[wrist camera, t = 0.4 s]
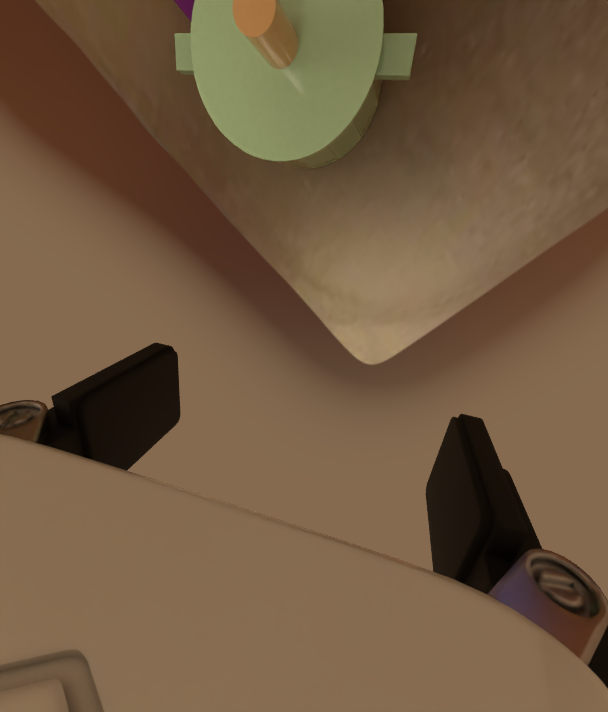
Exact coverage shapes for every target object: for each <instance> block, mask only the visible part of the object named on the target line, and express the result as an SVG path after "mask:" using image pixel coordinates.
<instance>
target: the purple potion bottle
mask: <svg viewBox="0 0 608 712" xmlns="http://www.w3.org/2000/svg"><path fill="white" fill-rule="evenodd" d="M174 1H175V2H176V3H177V5H178V6H179V7H180V8H181V10H182V11H183V12H184V13H185V15H186V16H187V17H188V18H189V20H190V21H192V11H193V6H194V1H195V0H174Z"/></svg>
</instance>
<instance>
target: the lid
mask: <svg viewBox="0 0 608 712" xmlns="http://www.w3.org/2000/svg"><path fill="white" fill-rule="evenodd" d="M383 36H384V8H383V0H195V1H194V6H193V11H192V21H191V57H192V65H193V70H194V76H195V80H196V83H197V87H198V90H199V93H200V96H201V98H202V101H203V103H204V105H205V107H206V109H207V111H208V113H209V115H210V117H211V118H212V120H213V122H214V123H215V125H216V126H217V127H218V129H219V130H220V131H221V132H222V133H223V135H224V136H225V137H226V138H227V139H228V140H230V141H231V142H232V143H233V144H234V145H235V146H237V147H238V148H240V149H241V150H243V151H244V152H246V153H248V154H250V155H252V156H254V157H257V158H260V159H263V160H267V161H273V162H291V161H297V160H301V159H304V158H307V157H310V156H312V155H314V154H316V153H318V152H320V151H322V150H323V149H325V148H326V147H328V146H329V145H331V144H332V143H333V142H334V141H336V140H337V139H338V138H339V137H340V136H341V135H342V134H343V133H344V132H345V131H346V130H347V128H348V127H349V126H350V125H351V124H352V122H353V121H354V120H355V118H356V117H357V115H358V114H359V112H360V111H361V109H362V107H363V105H364V103H365V102H366V100H367V98H368V95H369V93H370V91H371V88H372V86H373V84H374V80H375V77H376V74H377V71H378V68H379V63H380V58H381V53H382V46H383Z"/></svg>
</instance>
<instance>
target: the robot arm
mask: <svg viewBox="0 0 608 712" xmlns="http://www.w3.org/2000/svg"><path fill="white" fill-rule="evenodd" d="M52 401H53V405H54V407H53V408H51V409H49V410H48V409H47V406H46V405H45V404H44V403H42V402H39V401H33V400H23V401H16V402H10V403H7V404H3V405H0V712H608V600H607V598H606V597H605V595H604V594H603V592H602V590H601V589H600V587H599V586H598V585H597V584H596V583H595V582H594V581H593V579H592V578H591V577H590V576H589V575H588V574H587V573H586V572H584V571H583V570H582V569H581V568H580V567H578V566H577V565H576V564H574V563H573V562H571V561H570V560H568V559H567V558H565V557H563V556H561V555H559V554H556V553H554V552H552V551H548V550H544V549H542V547H541V545H540V543H539V540H538V538H537V536H536V534H535V531H534V529H533V526H532V524H531V522H530V519H529V517H528V515H527V512H526V510H525V508H524V506H523V503H522V501H521V499H520V496H519V494H518V492H517V489H516V487H515V485H514V482H513V480H512V478H511V476H510V474H509V472H508V471H507V470H505V469H503V468H502V466H501V463H500V461H499V458H498V456H497V453H496V451H495V449H494V446H493V444H492V441H491V439H490V436H489V434H488V432H487V430H486V427H485V425H484V422H483V420H482V419H481V418H477V417H473V416H468V415H464V414H460V415H459V417H458V418H456V417H452V419H451V420H450V423H449V426H448V428H447V432H446V434H445V436H444V439H443V442H442V445H441V447H440V450H439V453H438V456H437V458H436V461H435V464H434V466H433V469H432V472H431V474H430V477H429V480H428V483H427V487H426V500H427V511H428V521H429V531H430V542H431V551H432V562H433V572H432V571H430V570H427V569H424V568H421V567H419V566H416V565H413V564H411V563H408V562H405V561H402V560H400V559H397V558H394V557H390V556H388V555H385V554H382V553H379V552H375V551H373V550H370V549H367V548H364V547H361V546H358V545H355V544H352V543H349V542H346V541H343V540H340V539H337V538H334V537H331V536H328V535H325V534H321V533H318V532H315V531H312V530H309V529H306V528H303V527H300V526H297V525H294V524H291V523H288V522H285V521H282V520H279V519H276V518H273V517H270V516H267V515H264V514H260V513H257V512H254V511H251V510H248V509H245V508H242V507H238V506H236V505H233V504H230V503H226V502H223V501H220V500H217V499H214V498H211V497H208V496H205V495H201V494H198V493H195V492H192V491H189V490H186V489H183V488H180V487H177V486H173V485H170V484H167V483H164V482H161V481H158V480H155V479H151V478H148V477H145V476H142V475H139V474H135V473H132V472H129V471H127V470H128V469H129V468H130V467H131V466H132V465H133V464H134V463H136V462H137V461H138V460H139V459H140V458H141V457H142V456H143V455H144V454H145V453H146V452H147V451H148V450H149V449H151V448H152V446H153V445H154V444H156V443H157V442H158V441H159V440H160V439H161V438H162V437H163V436H164V435H165V434H167V433H168V432H169V431H170V430H171V429H172V428H173V427H174V426H175V425H176V424H177V423H178V421H179V419H180V397H179V375H178V356H177V353H176V352H175V351H174V349H173V347H171V346H168V345H164V344H159V343H153V344H151V345H150V346H148V347H146V348H144V349H142V350H140V351H138V352H136V353H134V354H132V355H130V356H128V357H127V358H125V359H123V360H121V361H119V362H117V363H115V364H113V365H111V366H109V367H107V368H105V369H103V370H101V371H100V372H98V373H96V374H94V375H92V376H90V377H88V378H86V379H85V380H83V381H80V382H78V383H77V384H74V385H73V386H71V387H69V388H67V389H65V390H63V391H61V392H59V393H57V394H55V395H53V396H52Z"/></svg>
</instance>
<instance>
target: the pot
mask: <svg viewBox="0 0 608 712" xmlns="http://www.w3.org/2000/svg"><path fill="white" fill-rule="evenodd" d="M416 42H417V33H384V36H383V46H382V53H381V58H380V63H379V68H378V71H377V74H376V77H375V80H374V84H373V86H372V88H371V91H370V93H369V95H368V98H367V100H366V102H365V103H364V105H363V107H362V109H361V111H360V112H359V114H358V115H357V117H356V118H355V120H354V121H353V122H352V124H351V125H350V126H349V127H348V128H347V130H346V131H345V132H344V133H343V134H342V135H341V136H340V137H339V138H338V139H337V140H336V141H334V142H333V143H332V144H331V145H329V146H328V147H326V148H325V149H323V150H322V151H320V152H318V153H316V154H314V155H312V156H310V157H307V158H304V159H301V160H297V161H291V162H280V163H282V164H285V165H287V166H289V167H297V168H310V169H314V168H318V167H322V166H325V165H328V164H331V163H333V162H335V161H337V160H339V159H340V158H341V157H343V156H344V155H345V154H347V153H348V152H349V151H350V150H351V149H352V148H353V147H354V146H355V145H356V144H357V143H358V142H359V140H360V139H361V138H362V137H363V135H364V134H365V132H366V130H367V128H368V127H369V125H370V123H371V121H372V118H373V116H374V114H375V111H376V109H377V106H378V102H379V96H380V92H381V83H382V80H410V75H411V70H412V64H413V59H414V53H415V48H416ZM175 49H176V69H177V71H179V72H180V73H182V74H183V75H194V70H193V65H192V57H191V33H175Z"/></svg>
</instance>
